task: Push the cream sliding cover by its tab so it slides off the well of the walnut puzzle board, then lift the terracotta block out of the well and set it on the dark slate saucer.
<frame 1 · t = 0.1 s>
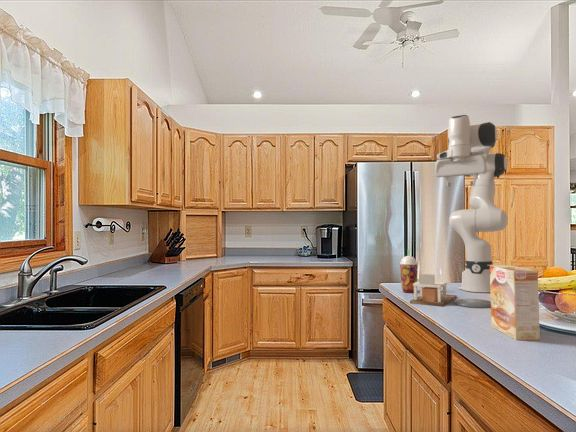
hand: (460, 186, 172), 48 cm above the table, fingers open, 8 cm apart
smoothie: (409, 292, 196), on the table
saucer: (473, 304, 164), on the table
block: (430, 295, 170), in the puzzle board
puzzle board: (430, 302, 170), on the table
cover: (429, 286, 170), point 7 cm above the table, slide at 0.0 cm
coffeecake box: (514, 333, 122), on the table
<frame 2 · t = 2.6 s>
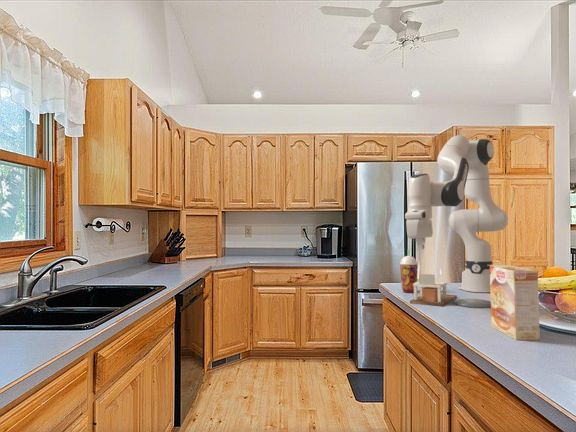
hand: (421, 249, 162), 23 cm above the table, fingers closed
nothing on the table moved.
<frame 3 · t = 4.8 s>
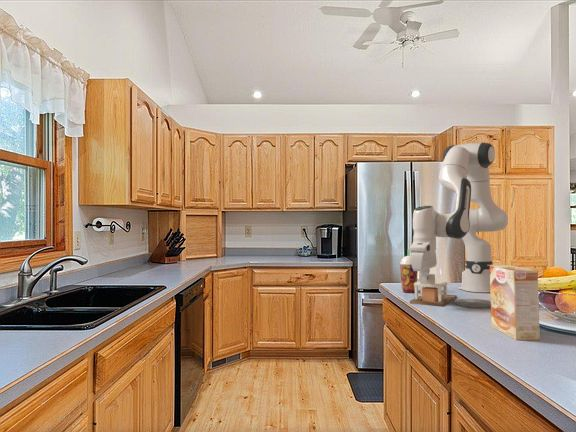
hand: (425, 280, 166), 10 cm above the table, fingers closed
cover: (430, 285, 171), point 7 cm above the table, slide at 0.8 cm, touching gripper
everything else where it was.
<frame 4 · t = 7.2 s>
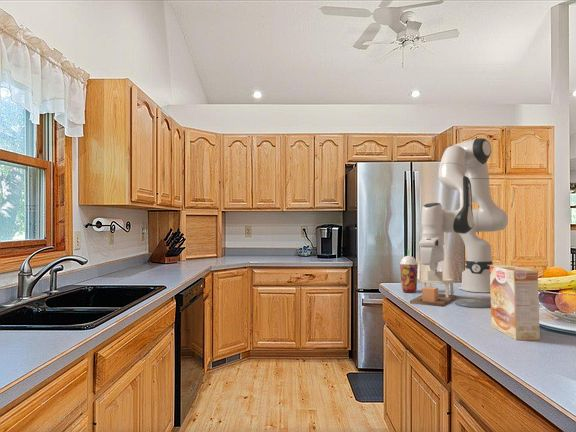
hand: (433, 273, 174), 11 cm above the table, fingers closed
cover: (437, 282, 179), point 7 cm above the table, slide at 11.4 cm, touching gripper
everything else where it was.
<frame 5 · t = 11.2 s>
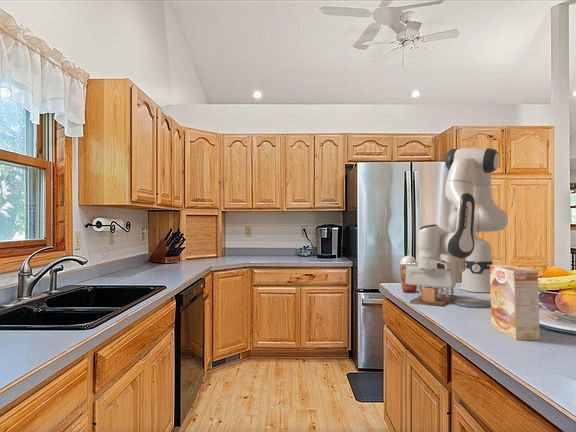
hand: (430, 297, 170), 2 cm above the table, fingers closed on block, 5 cm apart
block: (430, 295, 170), in the puzzle board, touching gripper
cover: (438, 282, 179), point 7 cm above the table, slide at 11.5 cm
everything else where it was.
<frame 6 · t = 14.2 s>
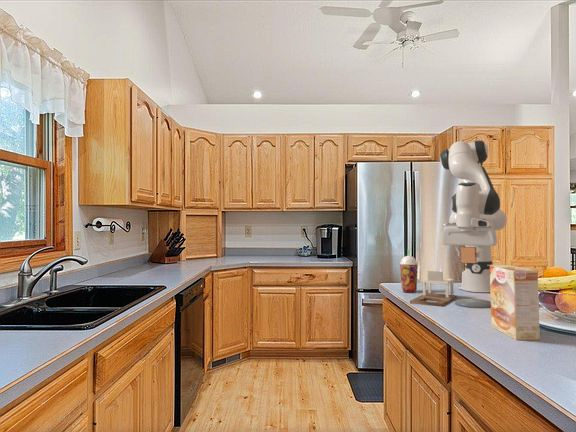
hand: (469, 256, 165), 19 cm above the table, fingers closed on block, 5 cm apart
block: (468, 254, 165), point 20 cm above the table, touching gripper
everything else where it was.
when the fingers open (4 cm above the table, at t = 17.7 s): block stays where it is, resting on saucer.
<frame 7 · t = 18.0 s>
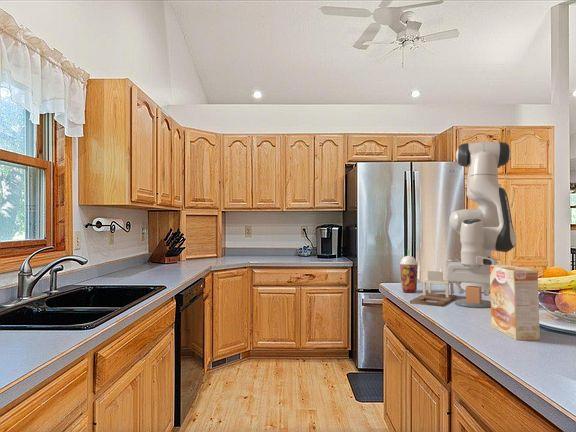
hand: (473, 294, 164), 4 cm above the table, fingers open, 8 cm apart
block: (473, 294, 164), on the saucer, point 4 cm above the table
everything else where it was.
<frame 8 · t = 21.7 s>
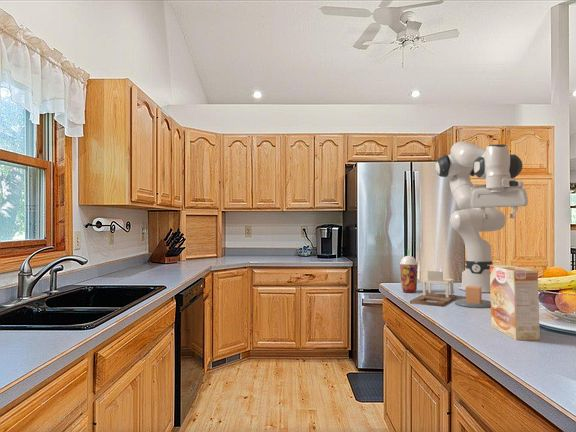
hand: (499, 218, 164), 34 cm above the table, fingers open, 8 cm apart
nothing on the table moved.
at the end: cover slide at 11.5 cm; block inside the target area on the saucer (0.0 cm from its centre), point 4.0 cm above the saucer's base; block tilted 0° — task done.
